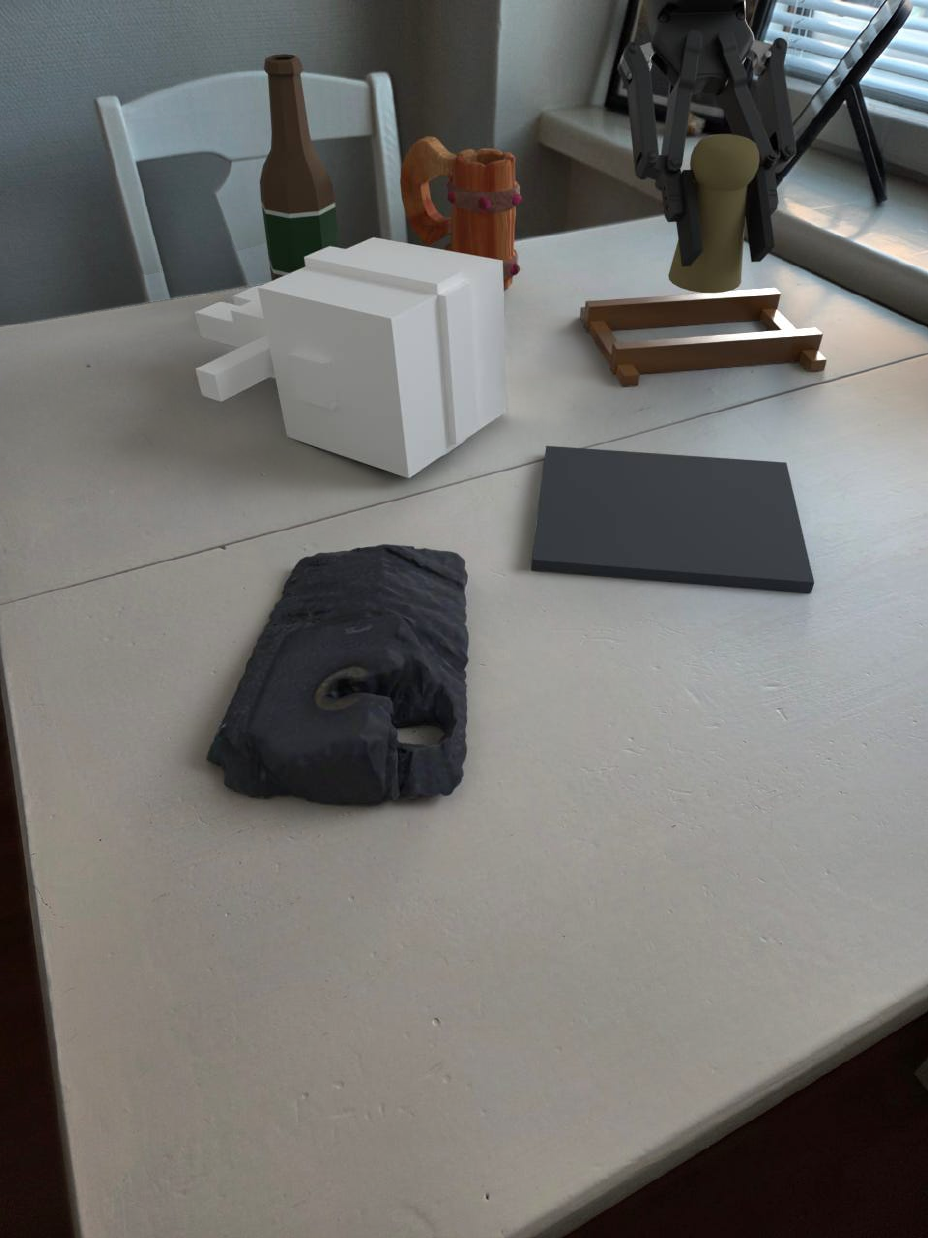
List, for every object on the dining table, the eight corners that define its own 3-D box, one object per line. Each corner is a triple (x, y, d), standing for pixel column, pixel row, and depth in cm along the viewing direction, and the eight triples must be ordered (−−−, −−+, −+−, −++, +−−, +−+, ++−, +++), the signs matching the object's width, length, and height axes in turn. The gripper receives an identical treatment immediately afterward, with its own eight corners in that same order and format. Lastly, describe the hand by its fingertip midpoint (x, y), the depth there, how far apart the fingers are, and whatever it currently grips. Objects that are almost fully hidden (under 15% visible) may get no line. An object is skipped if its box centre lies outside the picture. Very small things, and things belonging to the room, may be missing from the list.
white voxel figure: (330, 339, 102) (548, 396, 89) (145, 433, 88) (373, 520, 74) (307, 194, 93) (547, 232, 79) (97, 272, 78) (346, 336, 64)
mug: (534, 284, 109) (541, 143, 99) (500, 310, 104) (504, 163, 94) (427, 260, 115) (423, 124, 105) (389, 283, 110) (382, 142, 100)
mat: (783, 472, 80) (786, 462, 79) (811, 593, 68) (814, 582, 67) (545, 455, 81) (546, 445, 81) (531, 570, 70) (531, 559, 69)
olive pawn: (708, 299, 77) (734, 153, 69) (653, 276, 80) (672, 135, 73) (756, 280, 80) (785, 138, 72) (700, 259, 83) (723, 122, 76)
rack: (577, 317, 103) (579, 292, 101) (761, 304, 105) (766, 279, 103) (620, 387, 91) (623, 359, 89) (826, 370, 93) (833, 343, 92)
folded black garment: (498, 576, 69) (499, 522, 66) (457, 822, 53) (457, 766, 49) (292, 559, 70) (285, 505, 67) (191, 793, 54) (174, 737, 51)
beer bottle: (319, 284, 109) (295, 44, 93) (358, 306, 105) (339, 58, 89) (260, 302, 105) (225, 55, 89) (298, 325, 101) (267, 69, 85)
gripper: (778, 6, 81) (813, 270, 80) (571, 11, 79) (603, 283, 78) (820, -63, 74) (860, 227, 72) (593, -59, 71) (630, 240, 70)
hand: (727, 255), depth 75 cm, fingers closed on olive pawn, 5 cm apart
